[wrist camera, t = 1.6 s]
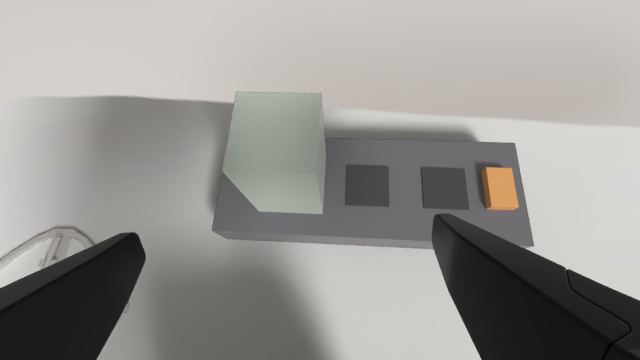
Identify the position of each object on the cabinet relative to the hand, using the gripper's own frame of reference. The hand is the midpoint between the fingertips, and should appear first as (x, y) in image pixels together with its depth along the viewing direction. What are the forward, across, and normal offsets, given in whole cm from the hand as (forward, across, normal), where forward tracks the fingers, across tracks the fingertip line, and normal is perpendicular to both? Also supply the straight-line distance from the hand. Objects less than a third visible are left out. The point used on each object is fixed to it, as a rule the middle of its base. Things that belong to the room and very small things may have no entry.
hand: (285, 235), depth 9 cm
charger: (+13, +1, +5) cm, 14 cm away
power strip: (+13, -4, +6) cm, 15 cm away
